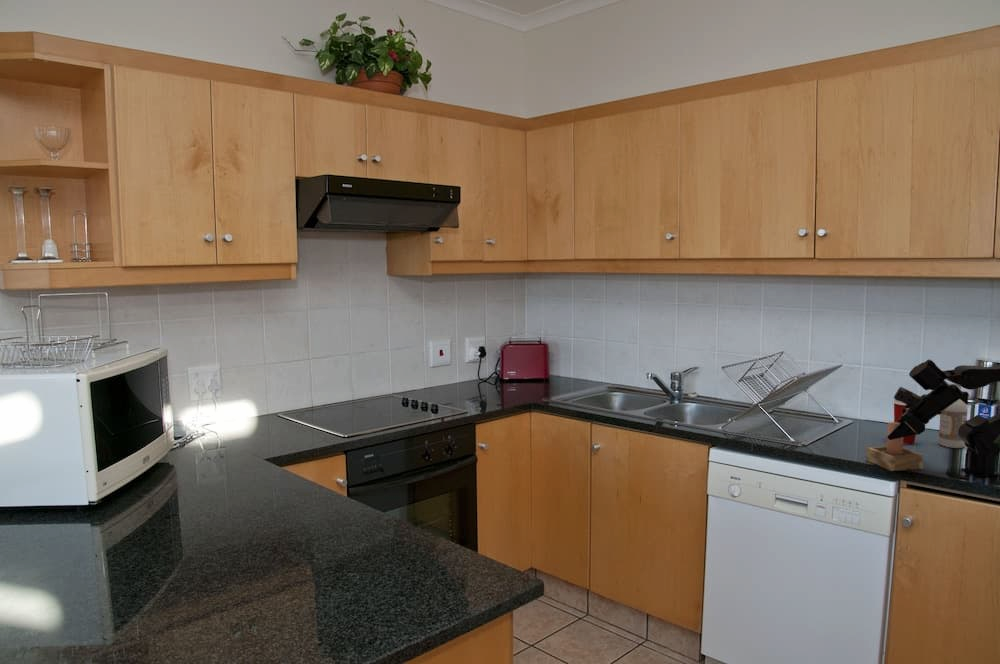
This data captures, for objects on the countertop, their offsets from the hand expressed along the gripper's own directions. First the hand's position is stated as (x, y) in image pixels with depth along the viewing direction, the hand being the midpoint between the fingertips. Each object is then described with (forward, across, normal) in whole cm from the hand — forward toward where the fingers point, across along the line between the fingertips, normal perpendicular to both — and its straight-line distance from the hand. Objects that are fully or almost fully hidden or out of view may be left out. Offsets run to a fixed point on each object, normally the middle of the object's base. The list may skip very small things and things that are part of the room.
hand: (889, 434), depth 202 cm
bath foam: (-5, -32, +17) cm, 36 cm away
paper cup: (+4, -29, +8) cm, 30 cm away
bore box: (+5, 0, +7) cm, 9 cm away
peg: (+5, 0, +7) cm, 9 cm away
